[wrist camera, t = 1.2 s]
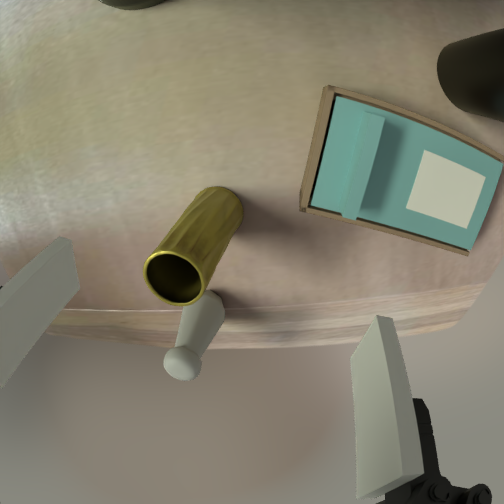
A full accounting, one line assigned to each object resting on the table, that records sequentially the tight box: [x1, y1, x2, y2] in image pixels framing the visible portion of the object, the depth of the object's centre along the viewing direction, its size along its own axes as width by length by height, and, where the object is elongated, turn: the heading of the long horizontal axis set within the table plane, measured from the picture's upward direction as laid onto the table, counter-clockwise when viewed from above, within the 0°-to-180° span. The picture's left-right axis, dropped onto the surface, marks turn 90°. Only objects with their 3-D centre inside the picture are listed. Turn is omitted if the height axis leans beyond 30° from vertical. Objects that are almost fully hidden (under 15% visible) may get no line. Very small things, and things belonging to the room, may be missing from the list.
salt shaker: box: [164, 290, 225, 381], centre depth 36 cm, size 6×6×13 cm
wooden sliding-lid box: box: [300, 85, 504, 256], centre depth 27 cm, size 12×20×5 cm, turn 80°
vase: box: [143, 187, 243, 306], centre depth 29 cm, size 6×6×14 cm
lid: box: [311, 96, 503, 250], centre depth 23 cm, size 10×19×4 cm, turn 80°
